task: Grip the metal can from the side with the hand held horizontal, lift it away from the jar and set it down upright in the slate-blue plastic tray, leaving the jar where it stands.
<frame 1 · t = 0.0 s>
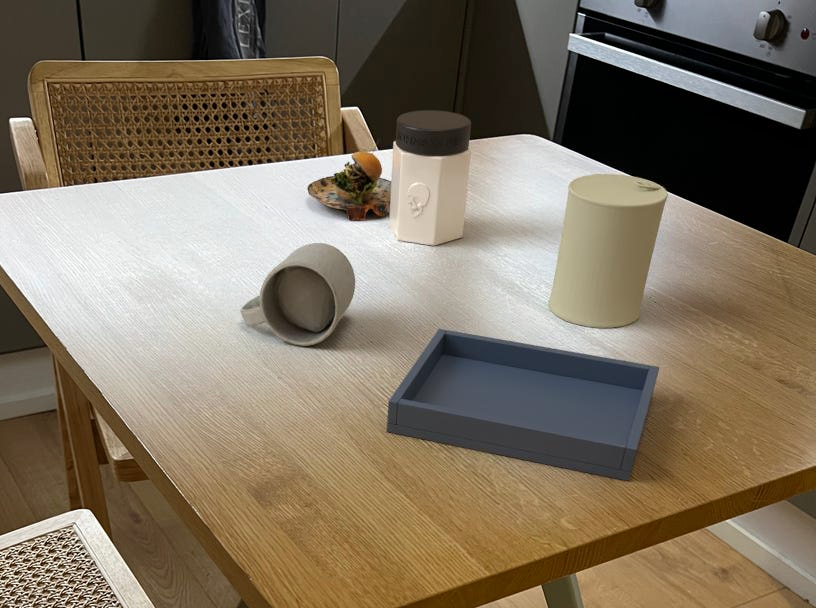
burger: (354, 206, 120), on the table
can: (593, 310, 98), on the table
jar: (425, 234, 113), on the table
tray: (523, 413, 82), on the table
ceramic mug: (296, 330, 93), on the table
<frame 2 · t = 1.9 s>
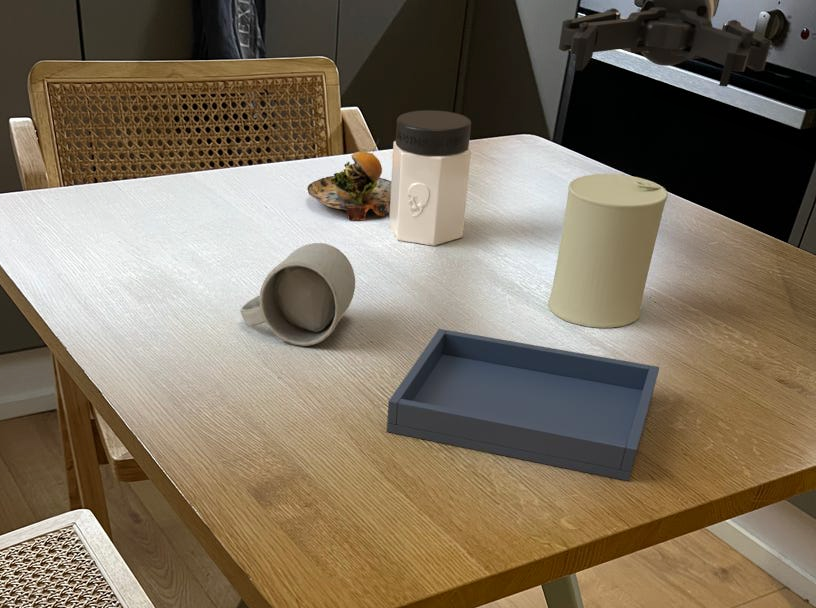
hand: (652, 62, 91), 20 cm above the table, tool horizontal, fingers open, 13 cm apart
nothing on the table moved.
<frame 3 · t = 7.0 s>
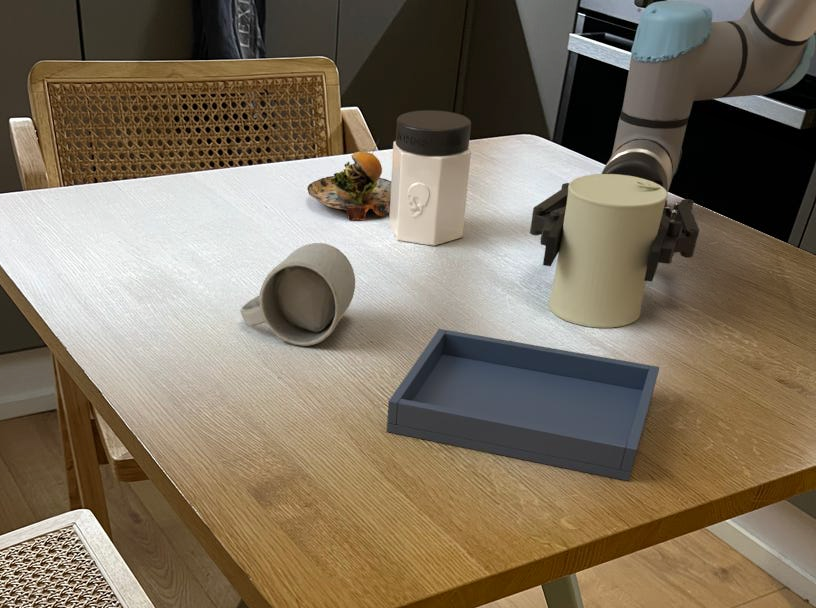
hand: (599, 258, 90), 7 cm above the table, tool horizontal, fingers closed on can, 9 cm apart
can: (593, 310, 98), on the table, touching gripper
everything else where it was.
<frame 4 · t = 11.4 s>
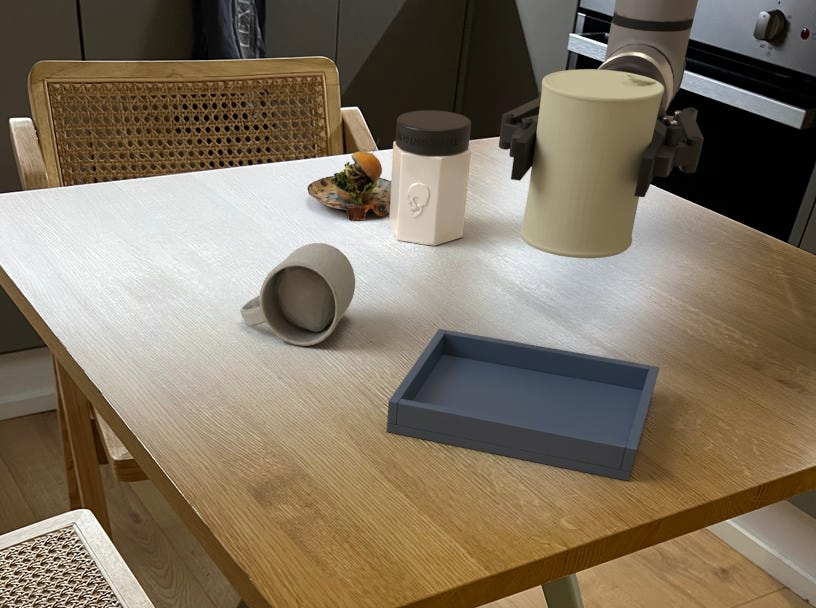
hand: (579, 169, 73), 18 cm above the table, tool horizontal, fingers closed on can, 9 cm apart
can: (574, 240, 81), point 11 cm above the table, touching gripper
everything else where it was.
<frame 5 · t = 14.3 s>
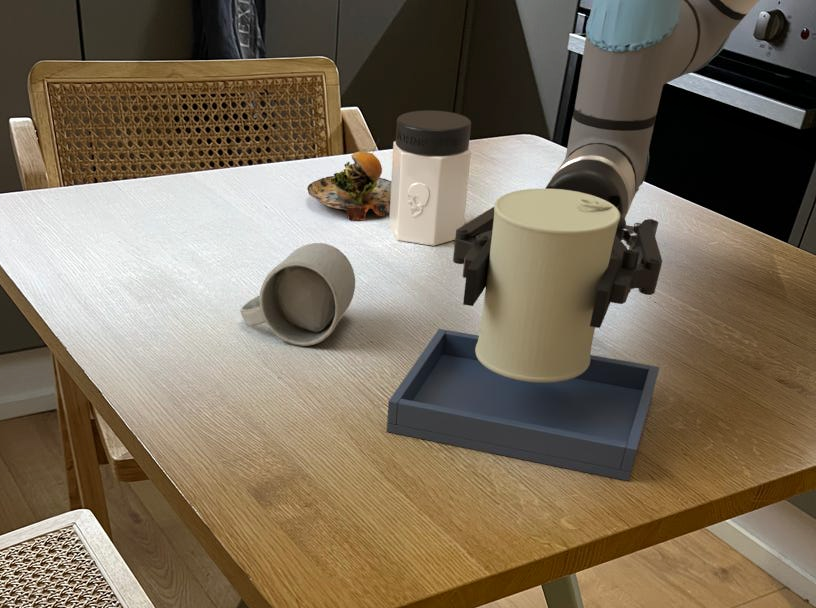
hand: (533, 298, 71), 12 cm above the table, tool horizontal, fingers closed on can, 9 cm apart
can: (531, 358, 78), point 5 cm above the table, touching gripper
everything else where it was.
when the fingers open (7 cm above the table, at t = 16.1 s): can stays where it is, resting on tray.
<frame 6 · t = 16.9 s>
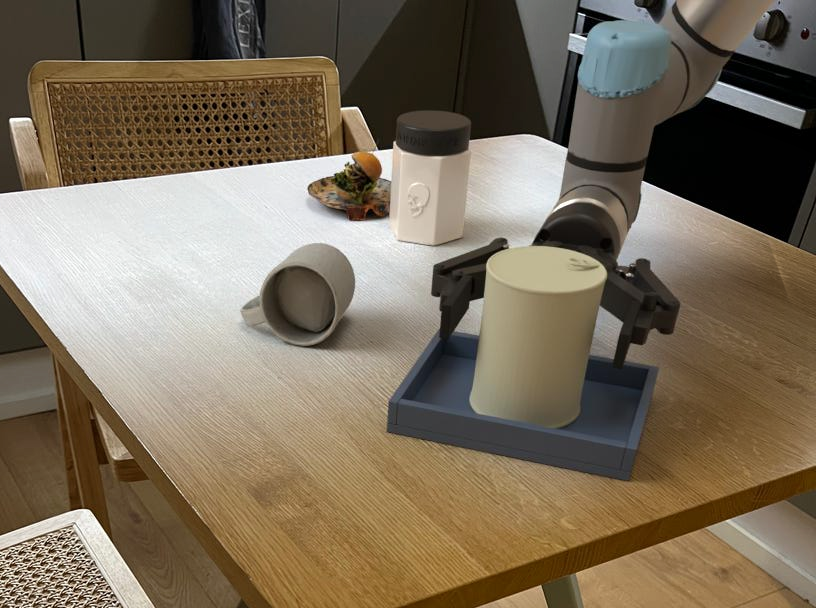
hand: (530, 336, 74), 8 cm above the table, tool horizontal, fingers open, 13 cm apart
can: (523, 406, 81), point 1 cm above the table, touching tray
everything else where it was.
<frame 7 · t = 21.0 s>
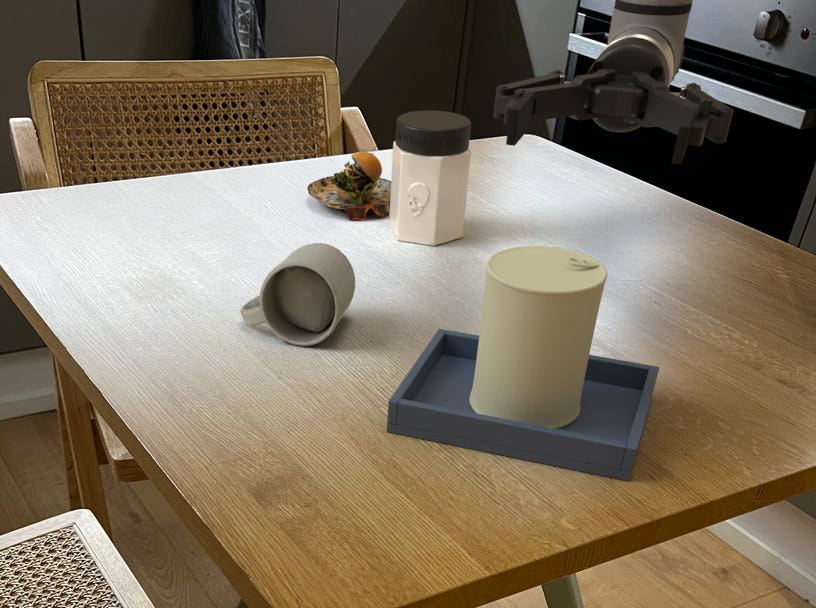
hand: (594, 136, 79), 18 cm above the table, tool horizontal, fingers open, 13 cm apart
nothing on the table moved.
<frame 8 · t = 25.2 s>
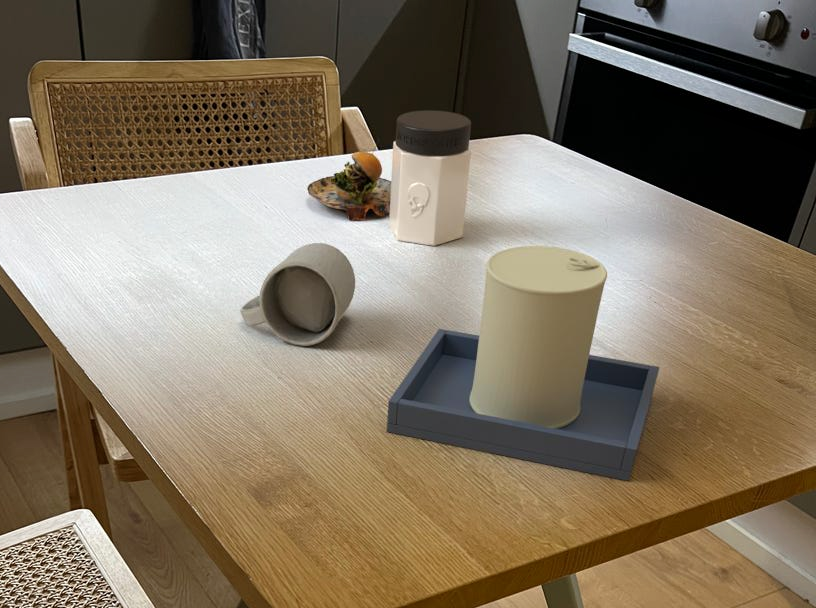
nothing on the table moved.
at the end: can inside the target area in the tray (0.1 cm from its centre), point 0.6 cm above the tray's base; can tilted 0°; jar moved 0.2 cm from its start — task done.
